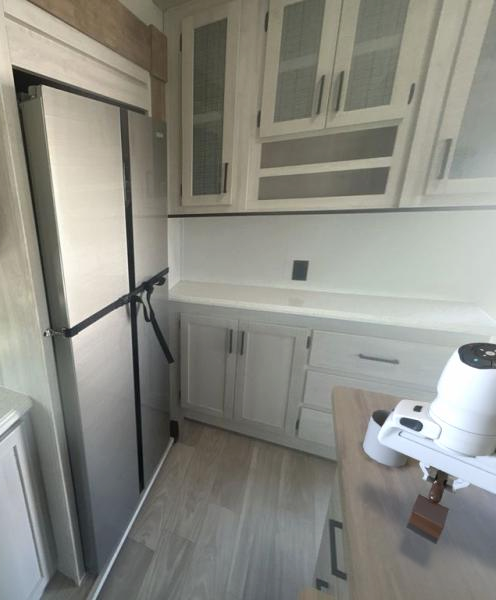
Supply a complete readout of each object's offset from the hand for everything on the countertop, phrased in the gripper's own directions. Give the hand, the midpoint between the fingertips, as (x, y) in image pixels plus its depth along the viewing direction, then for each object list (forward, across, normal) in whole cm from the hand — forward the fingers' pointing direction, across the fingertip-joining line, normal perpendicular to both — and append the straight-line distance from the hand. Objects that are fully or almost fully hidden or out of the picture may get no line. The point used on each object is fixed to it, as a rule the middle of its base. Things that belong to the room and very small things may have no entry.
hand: (438, 484), depth 64 cm
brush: (+4, 0, +4) cm, 5 cm away
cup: (+10, +10, -14) cm, 20 cm away
